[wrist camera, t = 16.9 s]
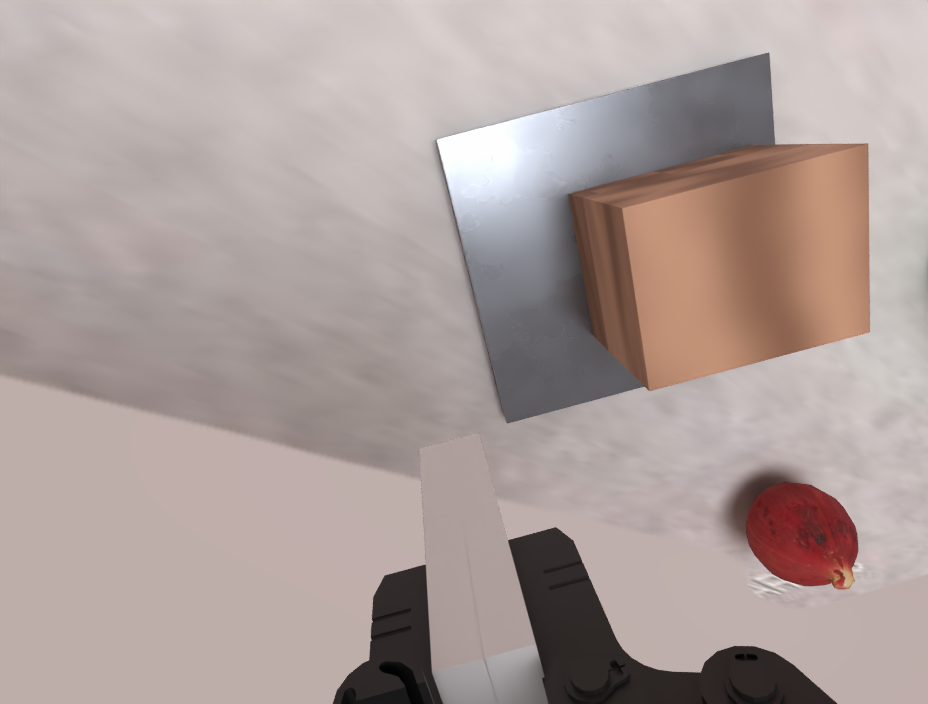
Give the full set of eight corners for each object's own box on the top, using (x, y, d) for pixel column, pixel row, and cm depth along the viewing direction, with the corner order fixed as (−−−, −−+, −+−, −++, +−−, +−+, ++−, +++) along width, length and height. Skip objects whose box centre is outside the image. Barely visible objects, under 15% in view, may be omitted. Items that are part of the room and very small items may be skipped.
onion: (714, 478, 39) (790, 557, 31) (798, 447, 39) (894, 520, 31) (731, 547, 41) (805, 637, 33) (811, 518, 41) (904, 602, 33)
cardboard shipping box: (593, 336, 33) (649, 391, 26) (568, 193, 31) (622, 208, 23) (764, 290, 34) (869, 332, 26) (754, 144, 31) (868, 143, 23)
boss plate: (503, 414, 36) (513, 440, 33) (435, 140, 30) (439, 139, 27) (775, 341, 36) (810, 359, 33) (755, 55, 31) (795, 45, 27)
